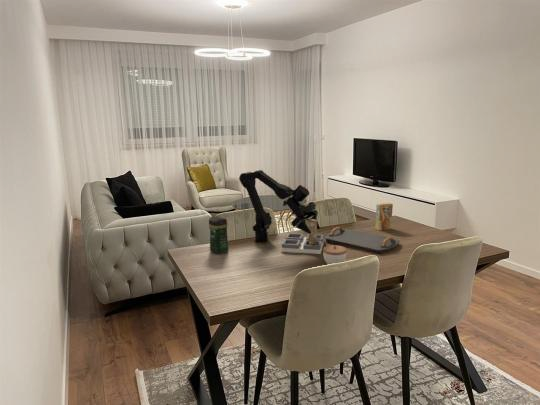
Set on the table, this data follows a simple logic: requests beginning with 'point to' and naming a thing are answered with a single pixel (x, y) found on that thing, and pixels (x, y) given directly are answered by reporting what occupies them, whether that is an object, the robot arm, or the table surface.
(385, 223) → the candy box
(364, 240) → the serving board
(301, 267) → the table surface
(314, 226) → the stool leg
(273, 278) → the table surface
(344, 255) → the lidded jar
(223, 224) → the coffee jar
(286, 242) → the grey compartment tray
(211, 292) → the table surface
